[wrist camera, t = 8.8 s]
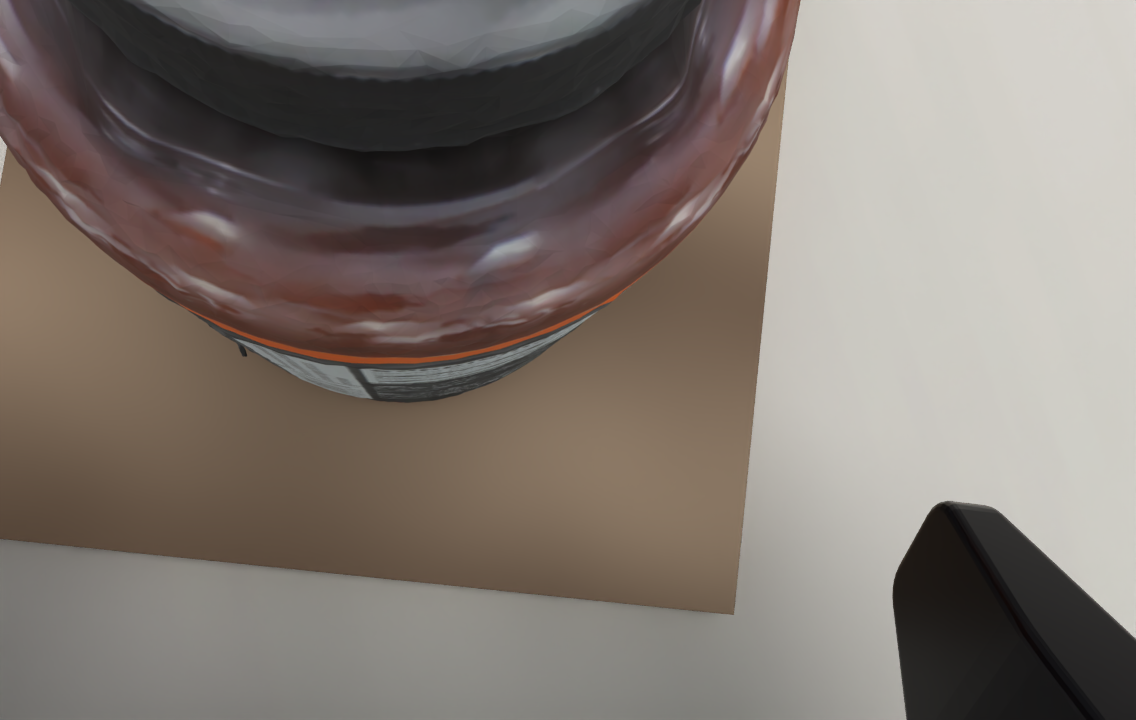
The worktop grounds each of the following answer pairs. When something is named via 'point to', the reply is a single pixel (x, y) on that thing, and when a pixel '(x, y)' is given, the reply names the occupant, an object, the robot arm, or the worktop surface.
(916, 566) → the robot arm
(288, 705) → the worktop surface
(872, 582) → the worktop surface
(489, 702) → the worktop surface
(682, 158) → the supplement bottle
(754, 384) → the walnut coaster board
